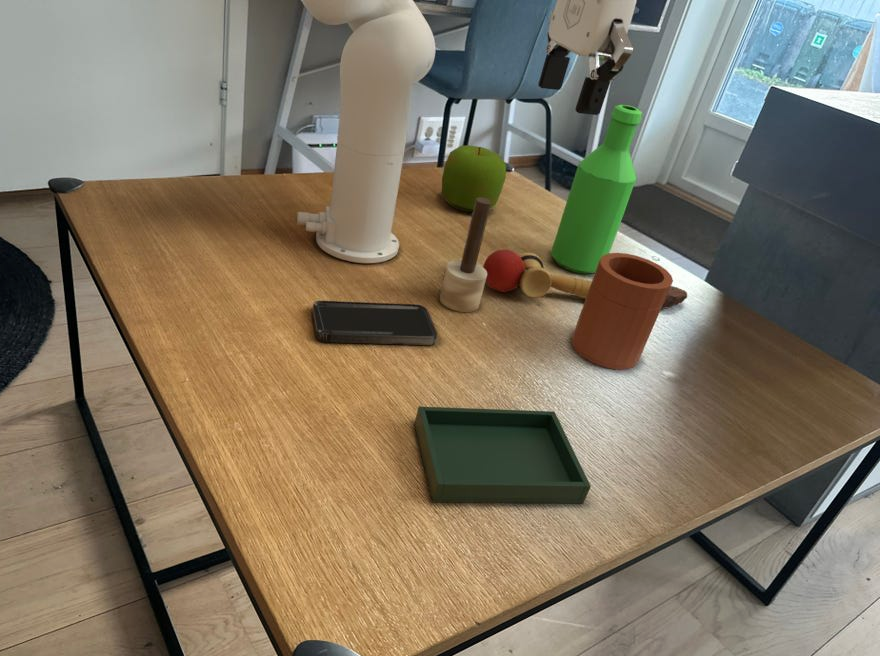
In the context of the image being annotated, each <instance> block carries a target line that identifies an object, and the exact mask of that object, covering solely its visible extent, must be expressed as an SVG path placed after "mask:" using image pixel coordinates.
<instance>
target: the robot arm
mask: <svg viewBox="0 0 880 656" xmlns="http://www.w3.org/2000/svg"><path fill="white" fill-rule="evenodd" d="M637 1H638V0H557V1H556V4H555V7H554V10H552V11H551V12H550V15H549V27H548V30H547V42H548V44H547V45H546V46H545V53H546V56H545V59H544V62H543V65H542V69H541V73H540V75H539V76H540V77H539V80H538V87H539V88H540V89H546V90H554V91H559V90H561V89H562V87H563V84H564V80H565V78H566V75H567V70H568V67H569V63H570V60H571V57H569V54H570V53H573V54H575V55H576V56H580V57H588V71H589V76H585V77H584V79H583V80H584V81H583V83H582V87H581V89H580V93H579V96H578V99H577V102H576V105H575V106H576V107H575V112H576V113H578V114H583V115H592V116H598V115H600V113H601V112H602V109H603V105H604V102H605V99H606V96H607V93H608V90H609V88H610V85H611V83H613V82H614V81H615V80H616V76H617V75H619V73H621V72H622V71H623V70H624V65H625V64H626V63H627V62H628V60H630V57H631V56H632V54H633V52H634V47H633V44H632V42H631V40H630V37H629V35H628V32H629V29H630V26H631V23H632V20H633V17H634V13H635V8H636V4H637ZM300 2H301V3H302V5H303V6H304V7H305V9H306V10H307V12H308V13H309V14H310V15H311V16H312V17H313V18H314V19H315V20H317V21H318V22H320V23H322V24H324V25H328V26H337V25H338V26H339V25H344V24H347V25H348V26H349V28H350V30H351V31H352V34H351V35H350V36H349V38H347V41H346V43H345V44H344V47H343V50H342V53H341V57H340V63H339V65H340V66H339V90H340V94H339V95H340V97H339V98H340V100H339V101H340V102H339V118H338V129H337V135H336V136H337V137H336V140H337V141H336V150H335V158H334V167H333V178H332V186H331V195H330V204H329V206H328V205H327V206H326V207H325V212H324V211H319V212H318V213H310V212H307V211H306V212H304V211H297V217H296V225H297V226H305V232H312V233H314V232H316V236H315V240H316V241H315V242H316V244H317V246H318V247H319V248H320V249H321V250H322V251H323V252H325V253H326V254H328V255H330V256H332V257H334V258H337V259H339V260H342V261H347V262H352V263H356V264H357V263H358V264H379V263H383V262H387V261H389V260H391V259H393V258H395V257H397V256H396V255H398V253H399V249H400V240H399V238H397V236H396V235H395V234H394V233H392V229H393V223H394V218H395V217H394V216H395V212H396V211H395V210H396V205H397V199H398V193H399V186H400V180H401V174H402V170H403V169H402V168H403V164H404V157H405V156H404V155H405V151H406V145H407V144H406V143H407V137H408V130H409V121H410V99H411V93H412V88H413V86H414V85H416V84H417V83H418V82H419V81H421V80H423V78H425V76H426V75H427V74H428V73H429V72H430V70H431V69H432V67H433V65H434V62H435V59H436V58H435V57H436V41H435V36H434V33H433V31H432V29H431V27H430V25H429V23H428V22H427V20H426V18H425V17H424V15H423V13H422V12H421V10H420V9H419V7H418V6H417V4H416V3H415V1H414V0H300ZM600 62H604V63H602V64H601V65H600Z"/></svg>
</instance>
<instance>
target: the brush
mask: <svg viewBox="0 0 880 656" xmlns="http://www.w3.org/2000/svg"><path fill="white" fill-rule="evenodd" d="M490 206H491V201H490V200H489V199H486V198H482V197H479V198H477V199H476V201H475V206H474V210H473V212H472V213H471V214H472V215H471V219H470V223H469V227H468V231H467V236H466V240H465V245H464V249H463V252H462V257H461V259H456V260H452V261H449V262H448V263H447V264H446V267H445V272H444V276H443V280H442V285H441V289H440V294H439V301H440V303H441V304H442V305H443V306H444V307H446V308H447V309H449V310H452V311H455V312H460V313H472V312H475V311H477V310H478V309H479V307H480V304H481V301H482V297H483V294H484V293H483V292H484V290H485V289H484V288H485V285H486V283H485V282H486V278H487V271H486V270H485V269H484V268H483V266H482V265H480V264H478V263H477V262H478V258H479V255H480V251H481V246H482V242H483V238H484V234H485V230H486V226H487V222H488V218H489V214H490V210H491V208H490Z"/></svg>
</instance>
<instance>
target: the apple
mask: <svg viewBox="0 0 880 656" xmlns="http://www.w3.org/2000/svg"><path fill="white" fill-rule="evenodd" d="M506 179H507V163H506V162H505V160H504V159H503V157H502V156H500V154H498V153H497V152H495V151H493V150H492V149H488V148H485V147H482V146H477V145H471V144H470V145H469V144H466V145H460V146H458V147H456V148H455V149H453V150H452V151H450V152H449V154H448V155H447V159H446V161H445V163H444V166H443V171H442V178H441V194H442V196H443V198H444V199H445V200H446V202H447V203H448V204H449V205H450V206H451V207H453V208H454V209H456V210H458V211H460V212H464V213H465V212H466V213H473V210H474V206H475V201H476V199H477V198H479V197H482V198H486V199H489V200H490V201H491V206H490V209H492V208H494V207H495V206H496V205H497V203H498V200H499V198H500V196H501V193H502V190H503V187H504V184H505V182H506Z"/></svg>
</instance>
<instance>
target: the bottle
mask: <svg viewBox="0 0 880 656" xmlns="http://www.w3.org/2000/svg"><path fill="white" fill-rule="evenodd" d="M642 115H643V113H642V111H641V110H639V108H637V107H635V106H632V105H629V104H628V105H626V104H618V105H617V104H616V105H615V106H614V108H613V110H612V112H611V114H610V117H611V118H610V121H609V124H608V127H607V130H606V133H605V137H604V139H603V142H602V143H601V144H600V145H599V146H598V147H596V148H595V149H594V150H593V151H592V152H590V153H589V154H588V155H587V156H586V157H584V158H583V159H582V160H581V161H580V162H579V163H578V165H577V168H576V171H575V175H574V178H573V181H572V184H571V187H570V190H569V194H568V196H567V199H566V204H565V206H564V209H563V213H562V216H561V219H560V222H559V225H558V229H557V232H556V235H555V239H554V241H553V245H552V247H551V256H552V258H553V259H554V260H555V261H556V263H557V264H558V265H559V266H560V267H561V268H564V269H565V270H567V271H571V272H574V273H576V274H583V275H587V274H588V275H589V274H595V272H596V269H597V266H598V264H599V261H600V259H601V257H602V256H604V255H606V254H609V253H611V250H612V247H613V245H614V242H615V240H616V236H617V233H618V231H619V229H620V226H621V223H622V220H623V217H624V215H625V212H626V210H627V209H626V208H627V206H628V203H629V200H630V197H631V195H632V192H633V189H634V186H635V183H636V180H637V174H636V172H635V168H634V164H633V161H632V156H631V154H630V147H631V144H632V141H633V138H634V136H635V133H636V130H637V127H638V125H639V124H640V123H641V122H642Z"/></svg>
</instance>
